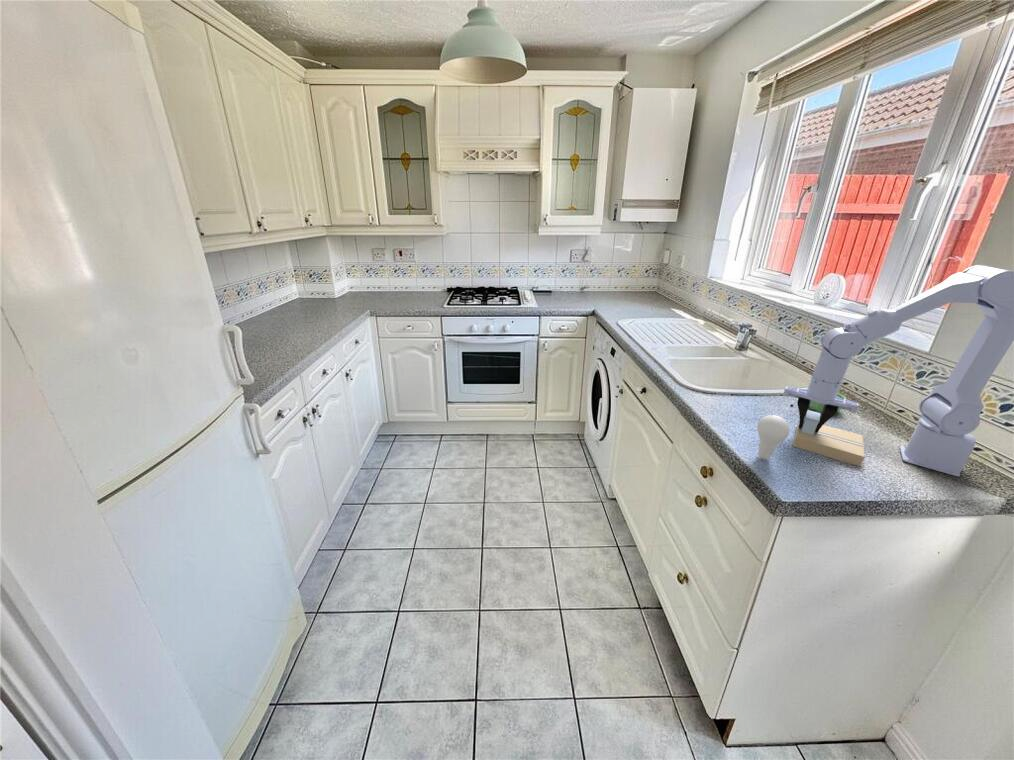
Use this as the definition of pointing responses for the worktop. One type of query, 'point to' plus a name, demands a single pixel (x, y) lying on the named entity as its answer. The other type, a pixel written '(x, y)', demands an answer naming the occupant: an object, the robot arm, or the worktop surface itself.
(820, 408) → the ramekin
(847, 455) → the carton
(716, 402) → the worktop surface
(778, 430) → the lightbulb
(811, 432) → the tab
